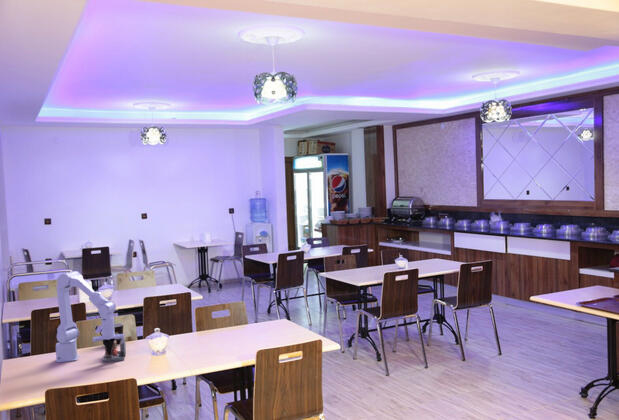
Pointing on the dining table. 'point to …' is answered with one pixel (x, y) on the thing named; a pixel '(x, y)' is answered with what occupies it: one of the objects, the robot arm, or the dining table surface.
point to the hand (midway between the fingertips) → (109, 354)
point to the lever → (115, 353)
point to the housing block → (112, 348)
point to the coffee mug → (117, 331)
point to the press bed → (121, 353)
